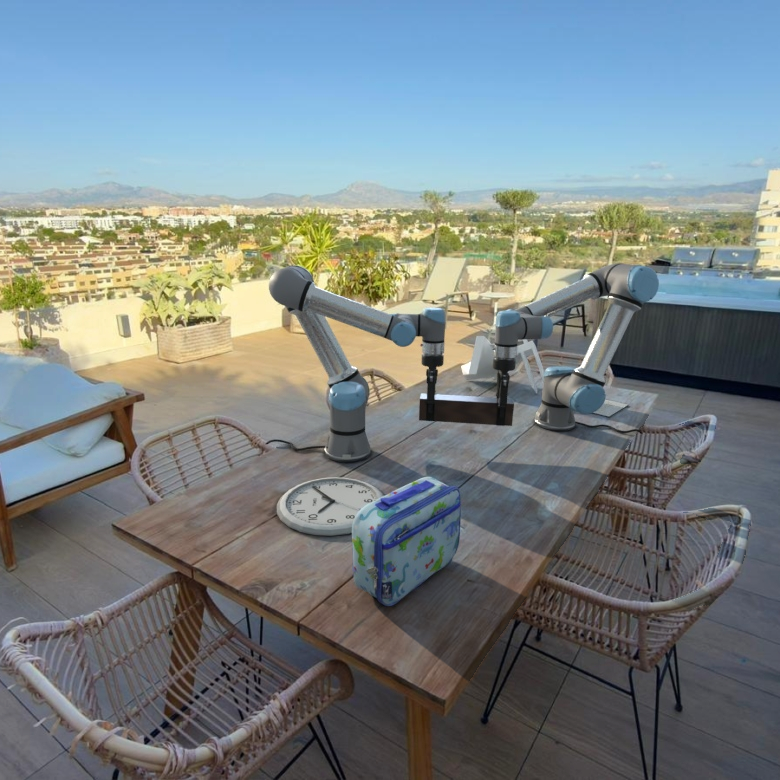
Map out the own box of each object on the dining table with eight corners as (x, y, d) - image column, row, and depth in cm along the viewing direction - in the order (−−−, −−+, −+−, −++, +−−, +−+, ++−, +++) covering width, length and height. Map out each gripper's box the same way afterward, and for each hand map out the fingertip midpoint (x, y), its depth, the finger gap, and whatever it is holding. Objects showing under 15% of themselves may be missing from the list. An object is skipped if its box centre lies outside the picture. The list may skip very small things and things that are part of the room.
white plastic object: (482, 422, 260) (461, 399, 236) (463, 348, 283) (442, 320, 258) (555, 398, 248) (541, 371, 224) (529, 323, 270) (514, 291, 246)
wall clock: (392, 527, 129) (268, 531, 127) (391, 533, 130) (269, 537, 127) (383, 473, 158) (282, 475, 155) (383, 478, 158) (282, 480, 156)
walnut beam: (510, 419, 185) (512, 398, 183) (512, 426, 179) (514, 404, 177) (420, 414, 188) (420, 393, 186) (418, 420, 183) (419, 398, 180)
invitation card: (608, 416, 214) (573, 407, 224) (608, 416, 214) (573, 408, 224) (628, 404, 229) (594, 396, 238) (628, 405, 229) (594, 397, 238)
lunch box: (381, 619, 101) (382, 525, 95) (345, 592, 109) (344, 503, 102) (464, 563, 119) (469, 480, 113) (428, 543, 126) (432, 464, 120)
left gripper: (423, 347, 188) (421, 408, 194) (420, 360, 170) (417, 426, 176) (444, 348, 187) (441, 409, 194) (443, 360, 169) (440, 427, 176)
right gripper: (491, 350, 185) (487, 412, 192) (495, 364, 167) (490, 431, 174) (513, 351, 184) (507, 413, 191) (519, 365, 166) (513, 432, 173)
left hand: (430, 417), depth 185 cm, fingers closed on walnut beam, 6 cm apart
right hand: (499, 421), depth 182 cm, fingers closed on walnut beam, 6 cm apart
